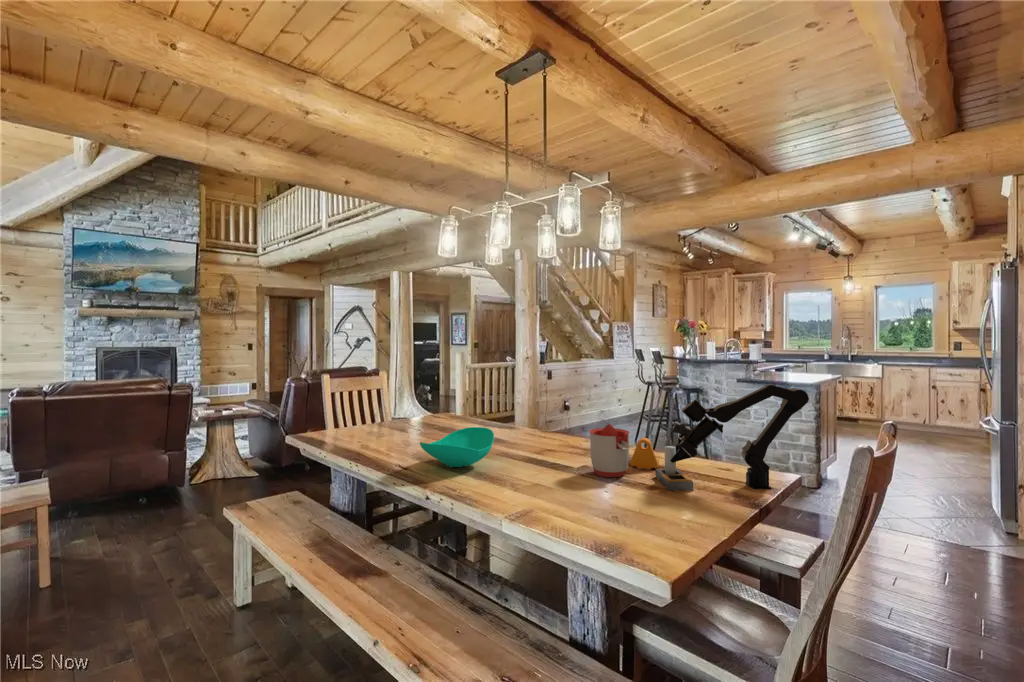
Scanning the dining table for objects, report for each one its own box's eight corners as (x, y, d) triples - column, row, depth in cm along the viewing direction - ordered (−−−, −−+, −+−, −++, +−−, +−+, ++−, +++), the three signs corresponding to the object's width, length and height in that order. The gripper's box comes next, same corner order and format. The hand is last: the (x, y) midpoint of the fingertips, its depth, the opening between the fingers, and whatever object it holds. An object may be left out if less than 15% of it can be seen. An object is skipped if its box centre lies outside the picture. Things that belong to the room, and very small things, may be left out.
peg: (674, 478, 180) (673, 446, 180) (677, 481, 176) (677, 448, 176) (663, 478, 180) (663, 446, 180) (666, 481, 176) (666, 448, 176)
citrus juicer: (611, 483, 175) (610, 429, 175) (581, 472, 190) (581, 423, 190) (641, 476, 183) (641, 425, 183) (611, 466, 198) (610, 419, 198)
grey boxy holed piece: (678, 476, 183) (678, 468, 183) (693, 490, 166) (693, 481, 166) (655, 476, 183) (655, 468, 183) (667, 490, 166) (667, 481, 166)
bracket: (659, 465, 199) (658, 437, 199) (657, 470, 193) (657, 440, 193) (633, 463, 203) (632, 435, 203) (630, 467, 197) (630, 439, 197)
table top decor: (460, 482, 179) (460, 447, 179) (402, 473, 191) (402, 441, 191) (508, 458, 214) (508, 429, 214) (457, 452, 227) (456, 425, 227)
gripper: (684, 411, 185) (655, 437, 189) (686, 419, 168) (654, 448, 171) (706, 432, 183) (676, 459, 186) (710, 442, 165) (677, 471, 169)
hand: (670, 458), depth 178 cm, fingers open, 9 cm apart
